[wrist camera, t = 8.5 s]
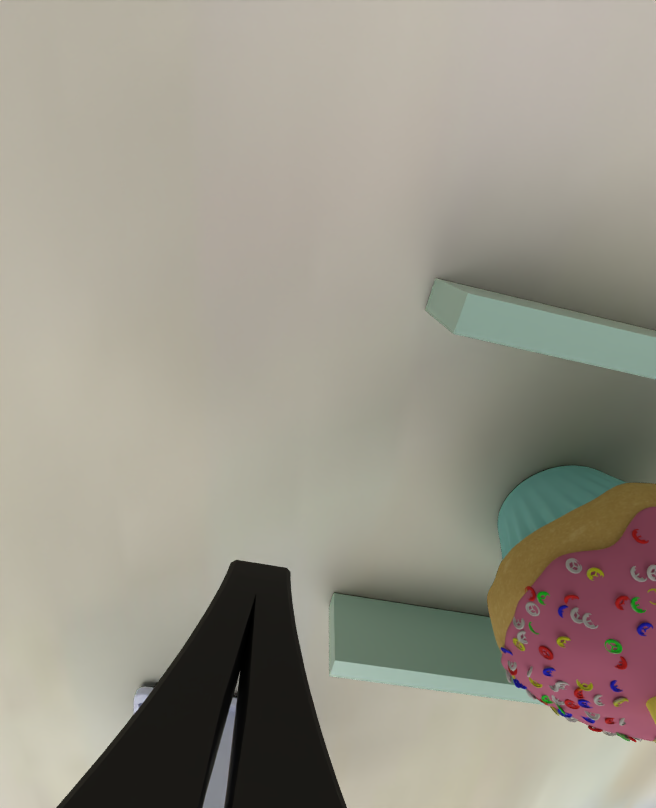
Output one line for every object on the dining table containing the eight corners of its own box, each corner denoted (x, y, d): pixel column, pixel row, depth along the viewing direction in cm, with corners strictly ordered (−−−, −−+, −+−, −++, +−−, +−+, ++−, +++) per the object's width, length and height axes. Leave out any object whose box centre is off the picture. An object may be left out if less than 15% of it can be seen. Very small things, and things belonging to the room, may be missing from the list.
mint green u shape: (639, 654, 19) (690, 724, 17) (328, 607, 18) (329, 676, 15) (875, 383, 13) (1016, 423, 11) (435, 278, 12) (468, 293, 9)
